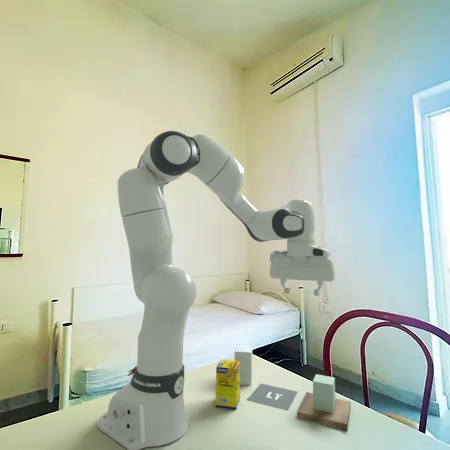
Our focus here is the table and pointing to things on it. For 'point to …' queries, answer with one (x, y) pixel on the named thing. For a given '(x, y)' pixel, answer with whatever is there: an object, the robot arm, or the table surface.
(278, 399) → the gray tile
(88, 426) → the table surface
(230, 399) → the supplement box
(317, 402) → the sage block
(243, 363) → the small box
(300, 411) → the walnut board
